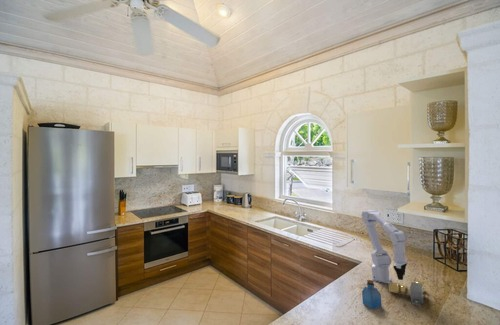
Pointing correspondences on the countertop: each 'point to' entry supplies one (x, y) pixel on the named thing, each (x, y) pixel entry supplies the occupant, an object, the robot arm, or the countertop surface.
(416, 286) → the pillow block
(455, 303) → the countertop surface
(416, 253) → the countertop surface
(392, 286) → the end cover
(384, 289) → the countertop surface
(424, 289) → the cover
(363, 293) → the perfume bottle
